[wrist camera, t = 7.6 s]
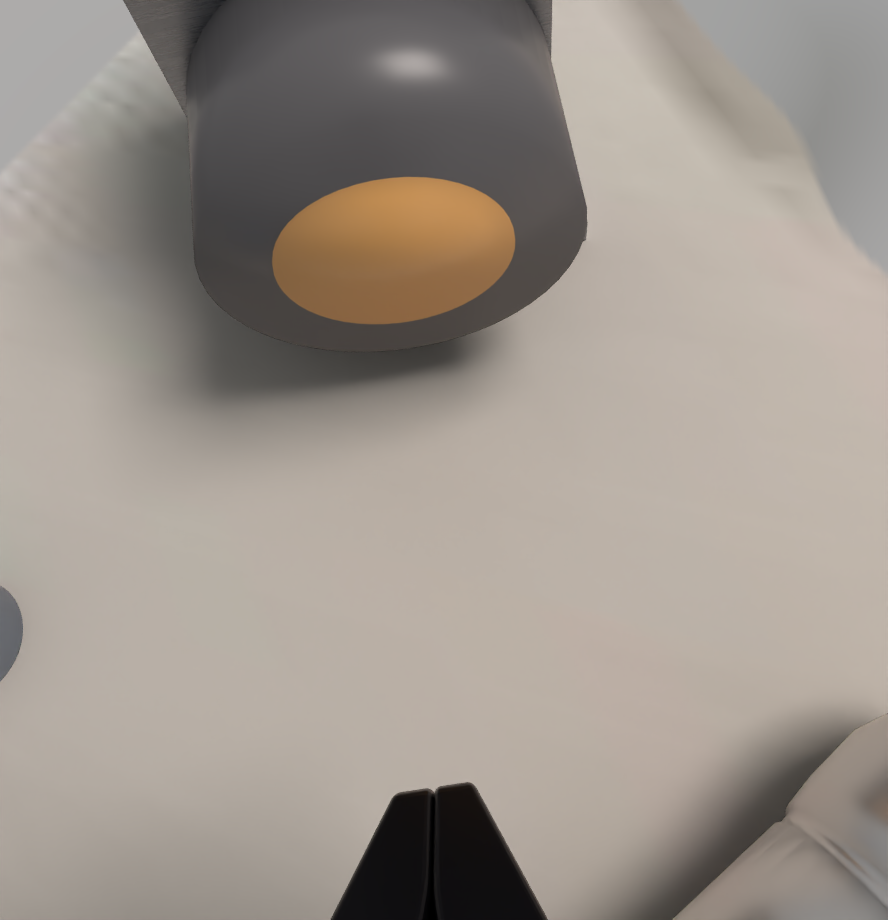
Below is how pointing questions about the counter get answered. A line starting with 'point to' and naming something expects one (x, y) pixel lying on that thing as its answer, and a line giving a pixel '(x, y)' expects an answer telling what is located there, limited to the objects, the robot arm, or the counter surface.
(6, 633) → the small blue bottle
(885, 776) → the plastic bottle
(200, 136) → the knob
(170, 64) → the mount
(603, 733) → the counter surface
